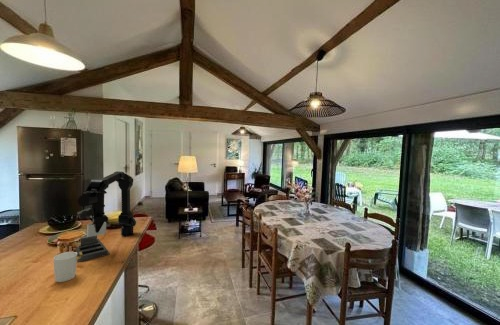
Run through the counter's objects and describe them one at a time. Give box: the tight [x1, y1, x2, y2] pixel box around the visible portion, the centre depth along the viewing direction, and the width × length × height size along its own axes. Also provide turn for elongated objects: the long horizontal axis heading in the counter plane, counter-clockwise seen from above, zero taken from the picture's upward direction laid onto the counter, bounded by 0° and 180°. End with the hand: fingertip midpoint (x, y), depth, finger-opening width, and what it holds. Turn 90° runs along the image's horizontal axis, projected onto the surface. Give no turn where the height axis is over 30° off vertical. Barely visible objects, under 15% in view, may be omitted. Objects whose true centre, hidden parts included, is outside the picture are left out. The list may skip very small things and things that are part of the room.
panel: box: [86, 221, 107, 237], centre depth 118 cm, size 8×2×6 cm, turn 136°
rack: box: [76, 235, 111, 263], centre depth 122 cm, size 14×21×6 cm, turn 46°
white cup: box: [53, 251, 78, 283], centre depth 96 cm, size 8×8×10 cm
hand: (96, 231), depth 118 cm, fingers closed on panel, 2 cm apart
